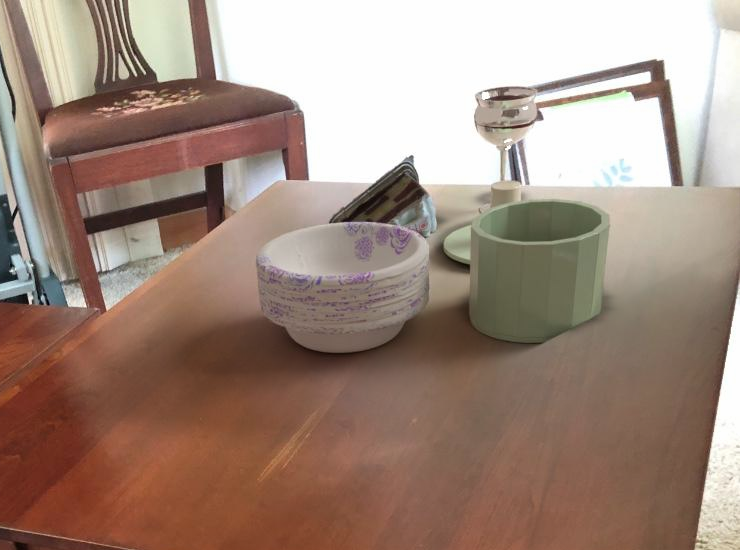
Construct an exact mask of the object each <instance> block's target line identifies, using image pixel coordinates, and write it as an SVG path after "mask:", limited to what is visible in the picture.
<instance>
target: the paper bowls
mask: <svg viewBox="0 0 740 550" xmlns="http://www.w3.org/2000/svg"><path fill="white" fill-rule="evenodd" d="M255 268H256V275H257V289H258V290H257V291H258V296H259V305H260V309H261V312H262V315H264V317H266V318H267V319H268V320H270V321H271V322H272V323H274V324H276V325H278V326H280V327H282V328H284V329H285V330H286V331H287V333H288V335H289V336H290V338H291V339H292V340H293V341H295V342H296V344H298V345H300V346H301V347H304V348H307V349H309V350H313V351H315V352H316V351H317V352H322V353H330V354H346V353H347V354H348V353H356V352H363V351H367V350H371V349H374V348H377V347H379V346H382V345H384V344H386V343H388V342H389V341H392V340H393V339H394V338H395V337H396V336H397V335H398V334H399V333H400V332H401V331H402V330H403V329H402V328H403V327H404V325H405V323H406V321H409V320H410V319H412V318H414V317H415V316H417V315H418V314H419V313H421V312H422V311H423V310H424V309H425V308H426V306H427V305H428V303H429V302H430V246H429V243H428V241H427V240H426V237H424V236H422V235H421V234H419V233H417V232H415V231H413V230H410V229H408V228H404V227H400V226H396V225H390V224H385V223H375V222H343V223H331V224H328V223H323V224H318V225H317V224H316V225H311V226H307V227H303V228H297V229H295V230H291V231H289V232H286V233H283V234H280V235H278V236H276V237H274V238H272V239H271V240H269V241H267V242H266V243H265V244H263V245H262V246H261V247H260V248H259V250H258V251H257V254H256V257H255Z"/></svg>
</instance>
